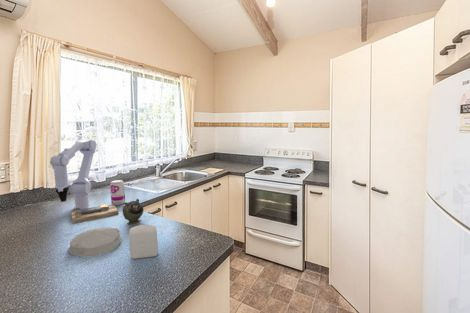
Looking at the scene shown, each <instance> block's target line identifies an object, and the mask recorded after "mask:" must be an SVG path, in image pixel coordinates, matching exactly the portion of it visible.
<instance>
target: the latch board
mask: <svg viewBox="0 0 470 313" xmlns="http://www.w3.org/2000/svg"><path fill="white" fill-rule="evenodd" d="M107 205H108V206H109V209H104V210H98V211H93V212H87V213H82V214H81V210H80V207H77V208H74V211H72V212H70V213H71V220H72V224H77V223H80V222H85V221H90V220H96V219H100V218H101V219H102V218H106V217H112V216H116V215H119V210H118V208H117V207H116V205H113V204H107ZM77 209H79V210H80V211H76V210H77Z"/></svg>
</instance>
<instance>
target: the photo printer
mask: <svg viewBox="0 0 470 313" xmlns="http://www.w3.org/2000/svg"><path fill="white" fill-rule="evenodd" d="M128 237H129V239H128V240H129V251H130V259H143V258H145V259H146V258H151V257H156V256H158V255H159V243H158V231H157V227H156V225H152V224H151V225H150V224H141V225H135V226H133V227H131V228H130V229H129V232H128Z"/></svg>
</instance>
